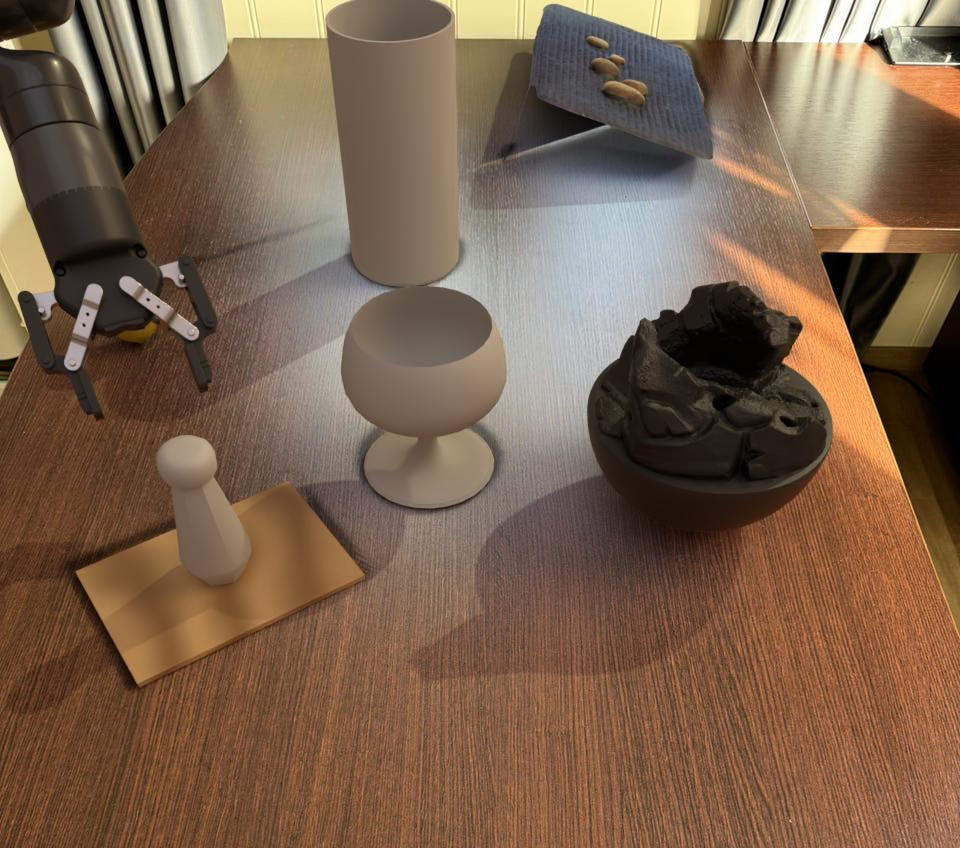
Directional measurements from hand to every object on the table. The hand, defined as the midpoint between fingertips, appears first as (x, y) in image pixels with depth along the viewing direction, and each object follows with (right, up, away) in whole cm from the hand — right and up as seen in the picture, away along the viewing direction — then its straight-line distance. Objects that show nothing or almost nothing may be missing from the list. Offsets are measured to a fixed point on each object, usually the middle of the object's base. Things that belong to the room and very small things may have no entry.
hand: (153, 404), depth 76 cm
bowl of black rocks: (+46, -7, +8) cm, 47 cm away
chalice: (+22, -3, +11) cm, 25 cm away
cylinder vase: (+18, +25, +33) cm, 46 cm away
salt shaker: (+5, -13, +2) cm, 14 cm away
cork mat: (+5, -14, +2) cm, 15 cm away
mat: (+45, +58, +59) cm, 94 cm away
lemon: (-10, +12, +23) cm, 28 cm away
